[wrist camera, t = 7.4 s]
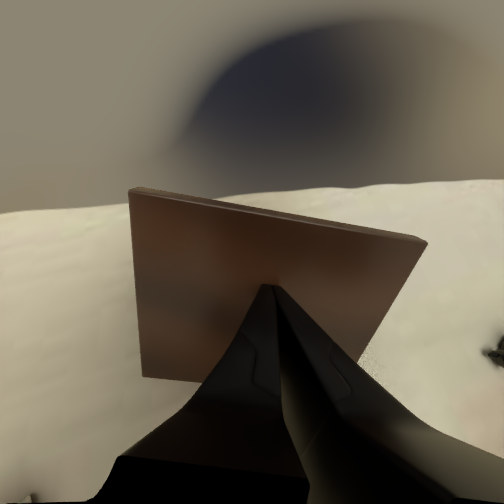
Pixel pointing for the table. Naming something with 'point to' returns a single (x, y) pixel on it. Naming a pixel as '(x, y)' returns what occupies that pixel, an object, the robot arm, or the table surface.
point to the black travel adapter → (498, 355)
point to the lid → (252, 276)
